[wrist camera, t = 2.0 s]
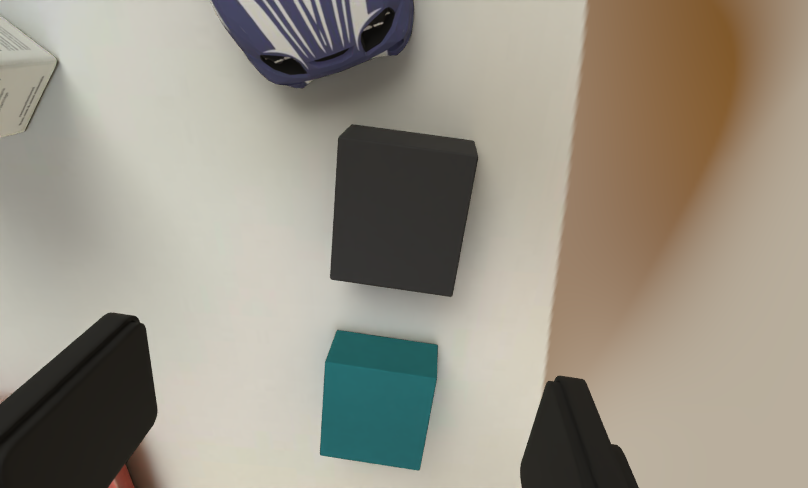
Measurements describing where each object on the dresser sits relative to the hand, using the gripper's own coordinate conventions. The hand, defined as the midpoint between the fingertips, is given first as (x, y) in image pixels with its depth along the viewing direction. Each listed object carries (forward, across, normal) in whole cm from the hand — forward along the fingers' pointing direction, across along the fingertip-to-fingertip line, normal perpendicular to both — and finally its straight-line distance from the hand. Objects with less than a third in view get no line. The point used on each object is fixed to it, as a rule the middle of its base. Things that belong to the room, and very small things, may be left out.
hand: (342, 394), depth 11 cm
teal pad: (+14, 0, +12) cm, 19 cm away
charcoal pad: (+14, 0, 0) cm, 14 cm away
